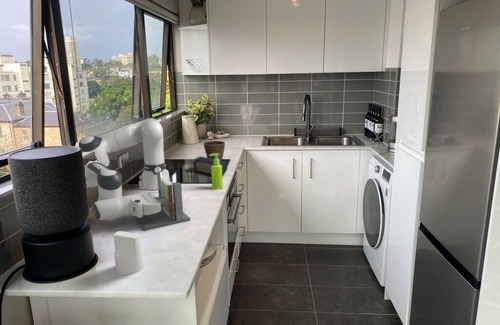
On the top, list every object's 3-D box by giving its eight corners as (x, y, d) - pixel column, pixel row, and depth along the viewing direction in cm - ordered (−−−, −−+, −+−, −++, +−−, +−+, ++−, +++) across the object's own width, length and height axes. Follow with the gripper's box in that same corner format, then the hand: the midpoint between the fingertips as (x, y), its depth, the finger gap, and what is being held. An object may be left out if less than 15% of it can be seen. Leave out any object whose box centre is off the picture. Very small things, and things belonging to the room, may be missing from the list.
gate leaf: (161, 206, 173) (158, 177, 169) (164, 205, 173) (162, 176, 170) (170, 217, 159) (168, 185, 155) (174, 216, 160) (171, 185, 156)
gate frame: (130, 211, 171) (127, 174, 167) (171, 204, 181) (169, 168, 176) (144, 230, 150) (141, 188, 146) (190, 220, 160) (188, 180, 155)
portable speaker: (191, 171, 241) (190, 157, 239) (202, 168, 249) (201, 154, 246) (218, 178, 226) (217, 162, 223) (228, 174, 233) (228, 159, 231)
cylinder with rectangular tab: (110, 272, 118) (106, 238, 116) (128, 259, 127) (124, 227, 124) (132, 277, 115) (129, 242, 112) (149, 263, 123) (146, 230, 121)
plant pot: (216, 168, 249) (216, 145, 245) (200, 165, 257) (199, 143, 253) (229, 163, 261) (229, 142, 257) (213, 161, 269) (212, 140, 265)
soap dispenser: (209, 187, 206) (207, 153, 202) (220, 186, 209) (219, 152, 204) (212, 190, 201) (210, 155, 196) (224, 188, 204) (222, 154, 199)
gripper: (129, 204, 167) (159, 199, 173) (140, 219, 149) (172, 212, 156) (128, 191, 165) (158, 186, 172) (138, 204, 148) (171, 198, 154)
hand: (165, 199), depth 164 cm, fingers closed
